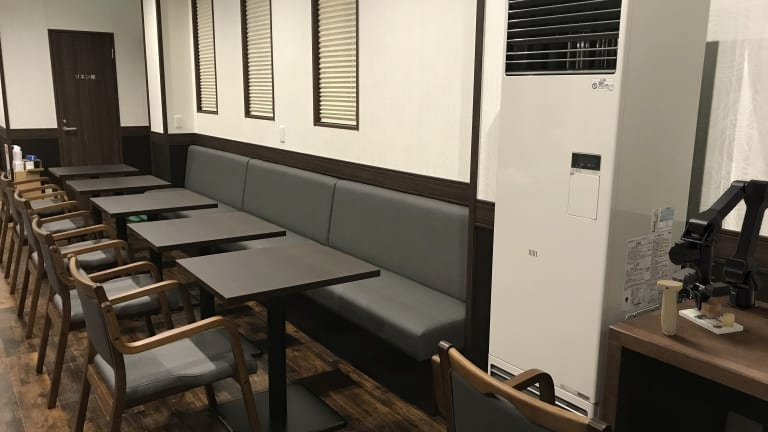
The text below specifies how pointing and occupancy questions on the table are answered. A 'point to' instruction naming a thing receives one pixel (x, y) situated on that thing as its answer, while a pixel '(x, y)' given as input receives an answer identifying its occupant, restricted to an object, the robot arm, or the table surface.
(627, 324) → the table surface
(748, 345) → the table surface
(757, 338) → the table surface
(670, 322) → the handle
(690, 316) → the bolt plate
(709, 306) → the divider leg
